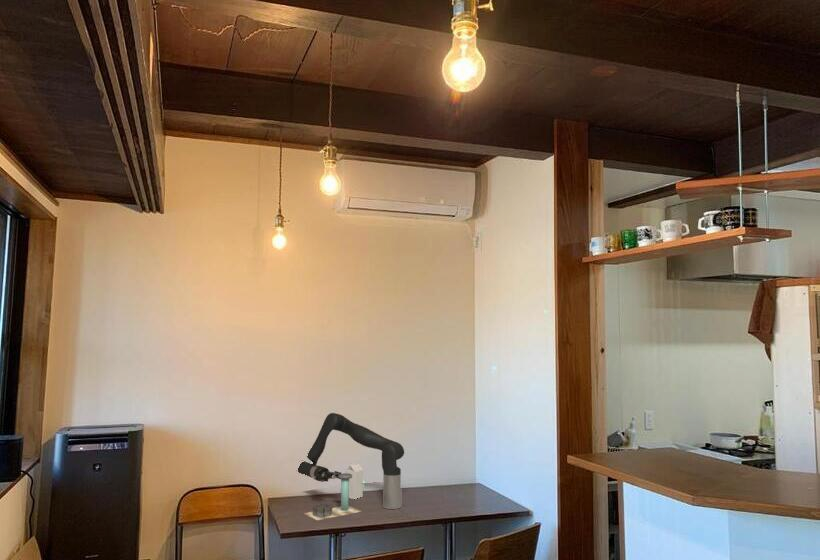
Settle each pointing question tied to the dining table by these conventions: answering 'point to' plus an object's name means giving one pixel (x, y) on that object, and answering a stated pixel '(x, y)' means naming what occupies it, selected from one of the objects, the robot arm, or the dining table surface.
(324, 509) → the eye board
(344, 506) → the wheel peg
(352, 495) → the milk carton
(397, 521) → the dining table surface
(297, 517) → the dining table surface
